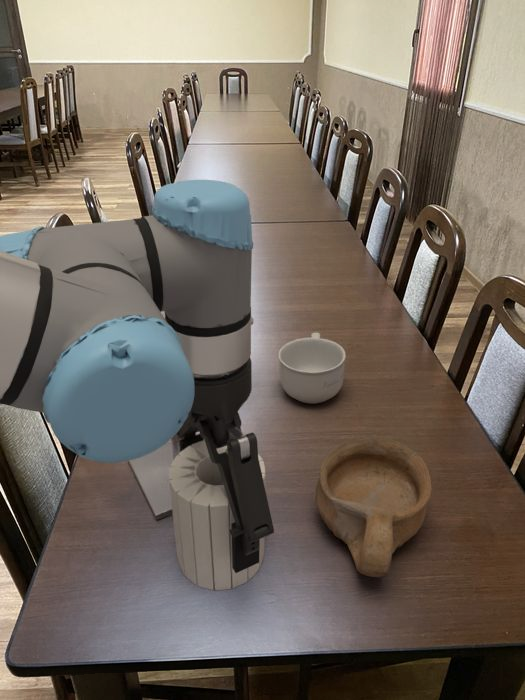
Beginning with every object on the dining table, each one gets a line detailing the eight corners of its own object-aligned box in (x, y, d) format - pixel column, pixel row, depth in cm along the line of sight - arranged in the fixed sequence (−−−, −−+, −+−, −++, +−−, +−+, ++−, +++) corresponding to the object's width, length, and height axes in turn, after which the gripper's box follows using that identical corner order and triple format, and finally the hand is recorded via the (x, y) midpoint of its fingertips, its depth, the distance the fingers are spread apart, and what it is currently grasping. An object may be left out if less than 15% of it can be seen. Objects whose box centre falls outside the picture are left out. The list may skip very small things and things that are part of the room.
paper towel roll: (198, 605, 57) (191, 520, 50) (165, 537, 65) (155, 456, 58) (279, 566, 61) (282, 483, 55) (240, 507, 69) (238, 428, 62)
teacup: (332, 418, 85) (336, 376, 80) (268, 403, 88) (268, 362, 84) (352, 373, 96) (356, 334, 92) (294, 361, 99) (296, 323, 95)
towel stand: (156, 520, 67) (145, 437, 60) (128, 461, 76) (115, 383, 69) (242, 487, 72) (241, 406, 65) (206, 435, 81) (201, 359, 74)
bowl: (470, 584, 58) (463, 525, 53) (343, 614, 59) (324, 560, 54) (416, 467, 73) (407, 412, 68) (316, 493, 74) (300, 441, 69)
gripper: (321, 421, 41) (306, 593, 52) (195, 297, 60) (204, 443, 71) (234, 452, 38) (237, 628, 49) (129, 311, 57) (149, 461, 68)
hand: (218, 519), depth 60 cm, fingers open, 13 cm apart
